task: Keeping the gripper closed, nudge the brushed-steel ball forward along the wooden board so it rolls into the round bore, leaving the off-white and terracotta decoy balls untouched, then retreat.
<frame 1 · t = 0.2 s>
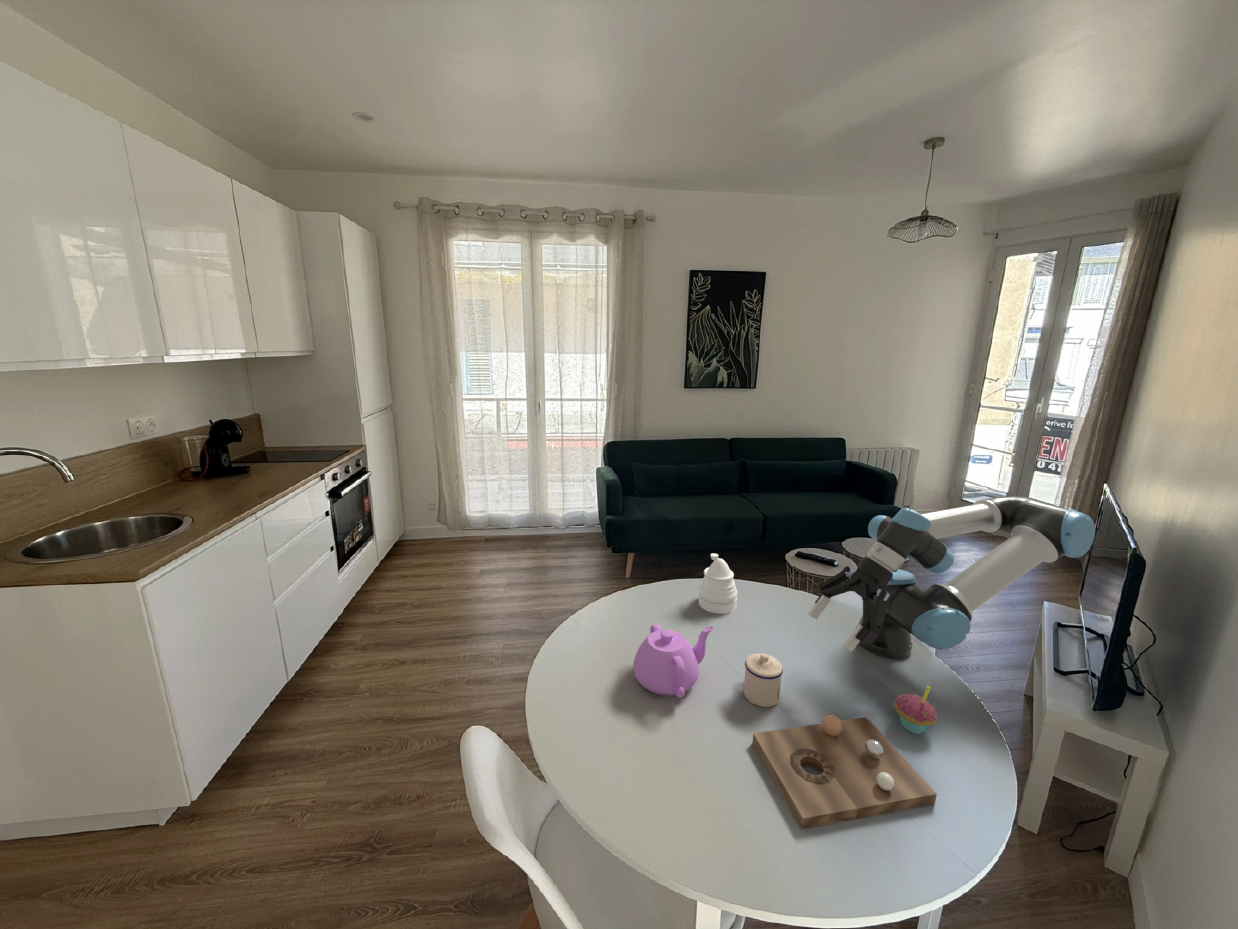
hand: (828, 632, 120), 16 cm above the table, tool tilted 35°, fingers open, 13 cm apart
wooden board: (837, 771, 99), on the table
teacup with lid: (758, 692, 122), on the table
teapot: (673, 678, 127), on the table
steel ball: (874, 749, 99), point 4 cm above the table, touching wooden board
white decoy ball: (885, 781, 92), point 4 cm above the table, touching wooden board
cupcake: (912, 727, 111), on the table
honey pot: (717, 604, 164), on the table
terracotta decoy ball: (832, 725, 105), point 5 cm above the table, touching wooden board
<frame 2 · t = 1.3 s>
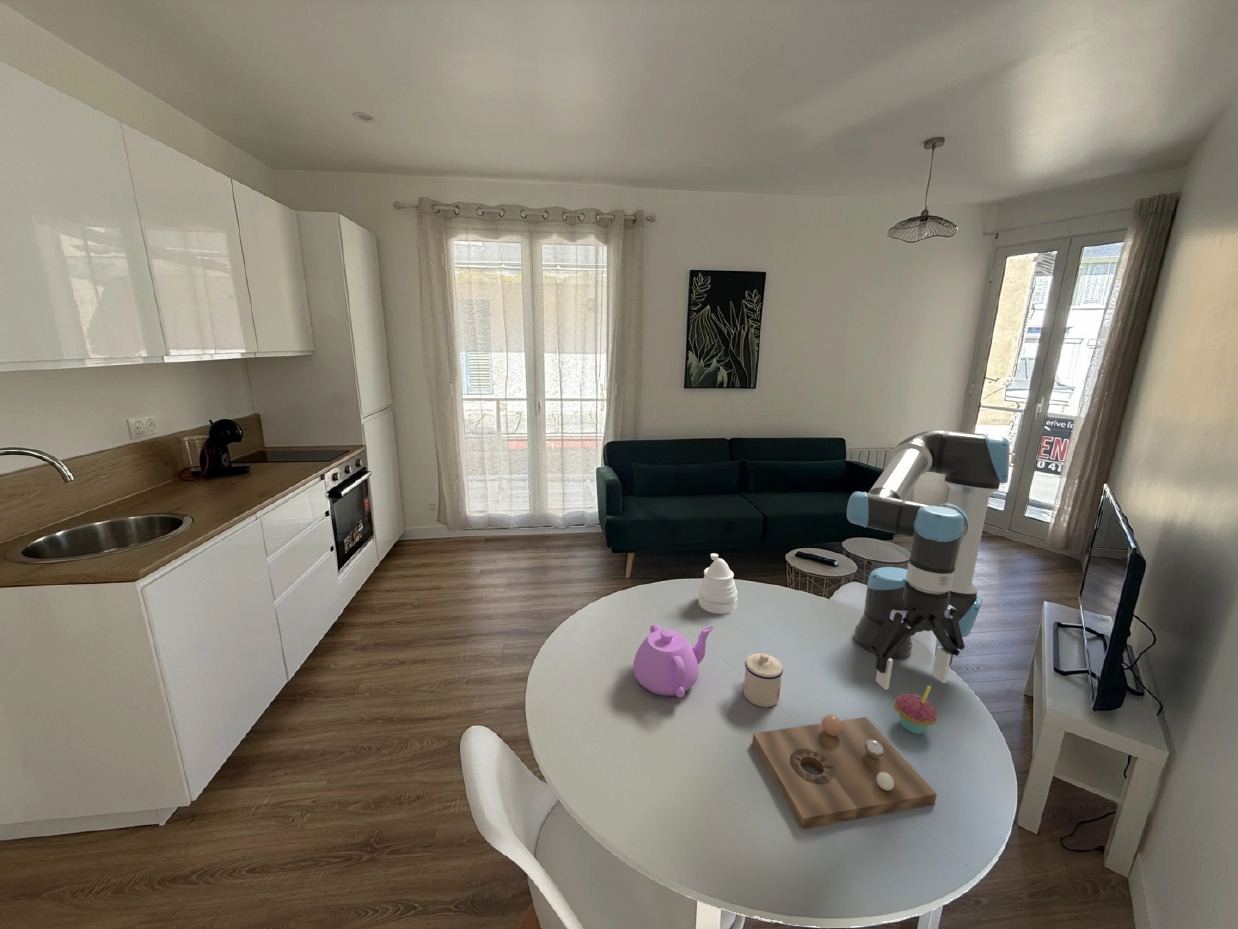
hand: (910, 681, 98), 19 cm above the table, tool pointing down, fingers open, 12 cm apart
nothing on the table moved.
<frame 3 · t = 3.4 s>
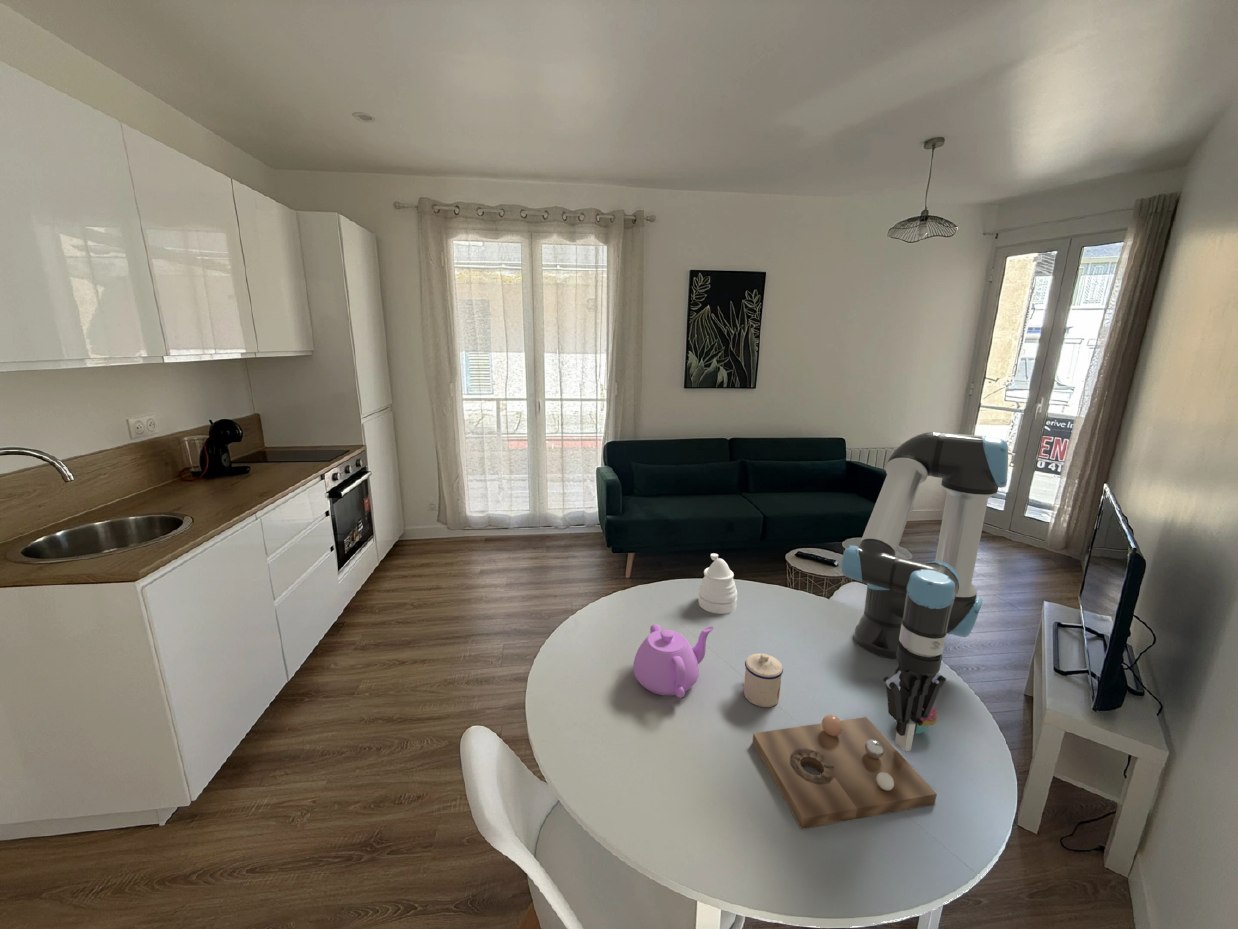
hand: (902, 745, 101), 4 cm above the table, tool pointing down, fingers closed
nothing on the table moved.
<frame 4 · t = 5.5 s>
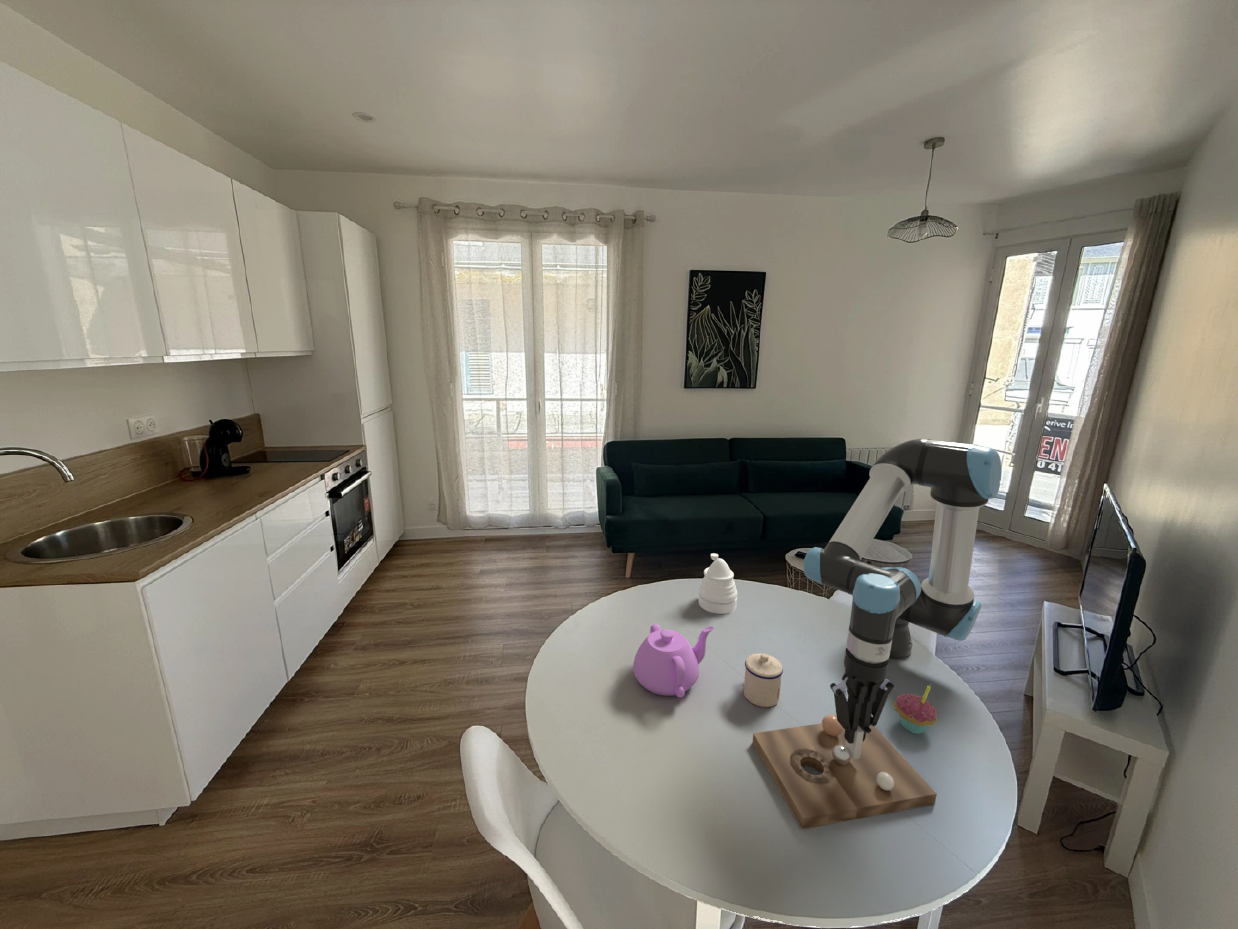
hand: (852, 753, 98), 4 cm above the table, tool pointing down, fingers closed
steel ball: (841, 754, 98), point 4 cm above the table, tilted 111°, touching wooden board
everything else where it was.
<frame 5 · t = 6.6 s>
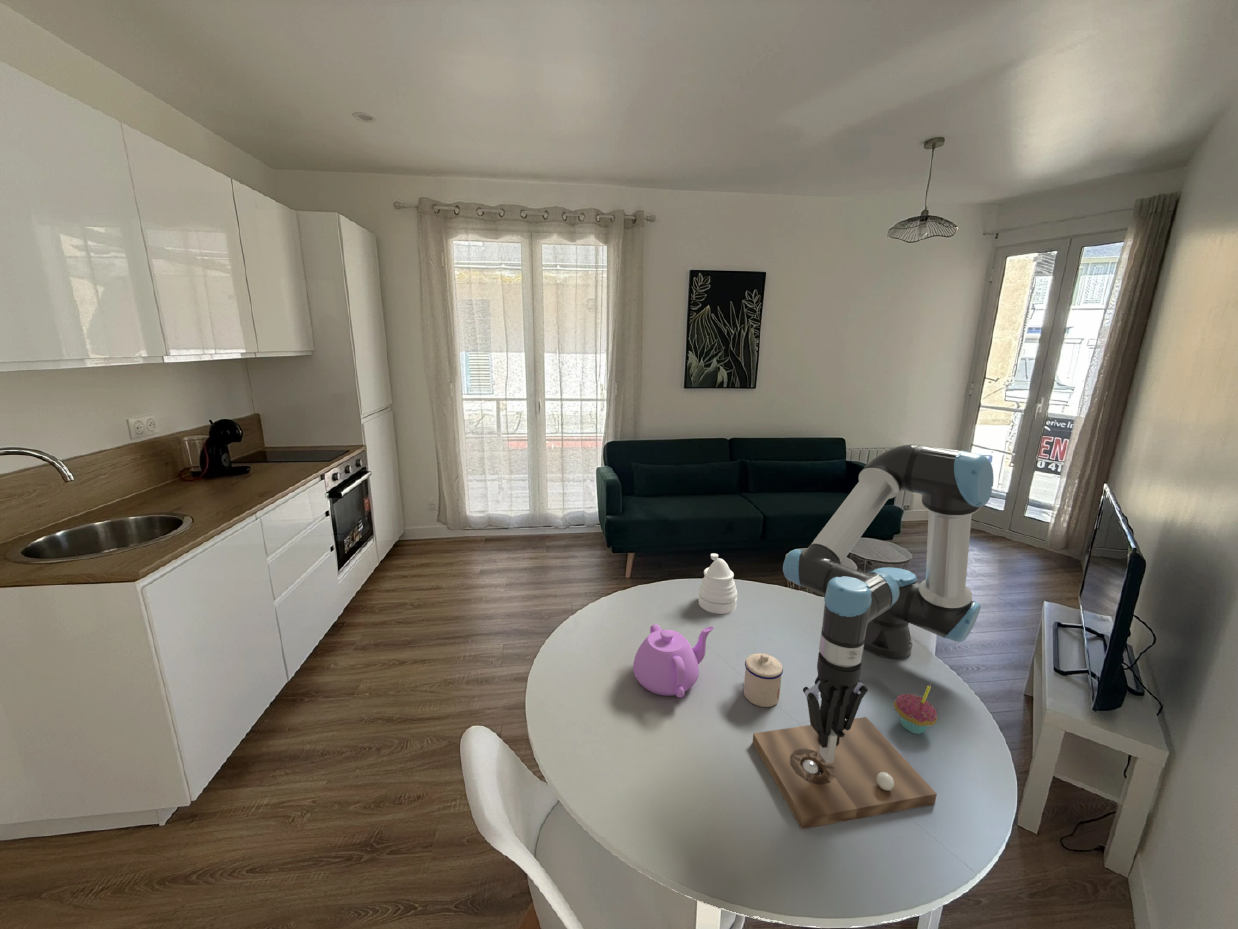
hand: (826, 757, 97), 4 cm above the table, tool pointing down, fingers closed
steel ball: (810, 769, 97), point 2 cm above the table, tilted 158°
everything else where it was.
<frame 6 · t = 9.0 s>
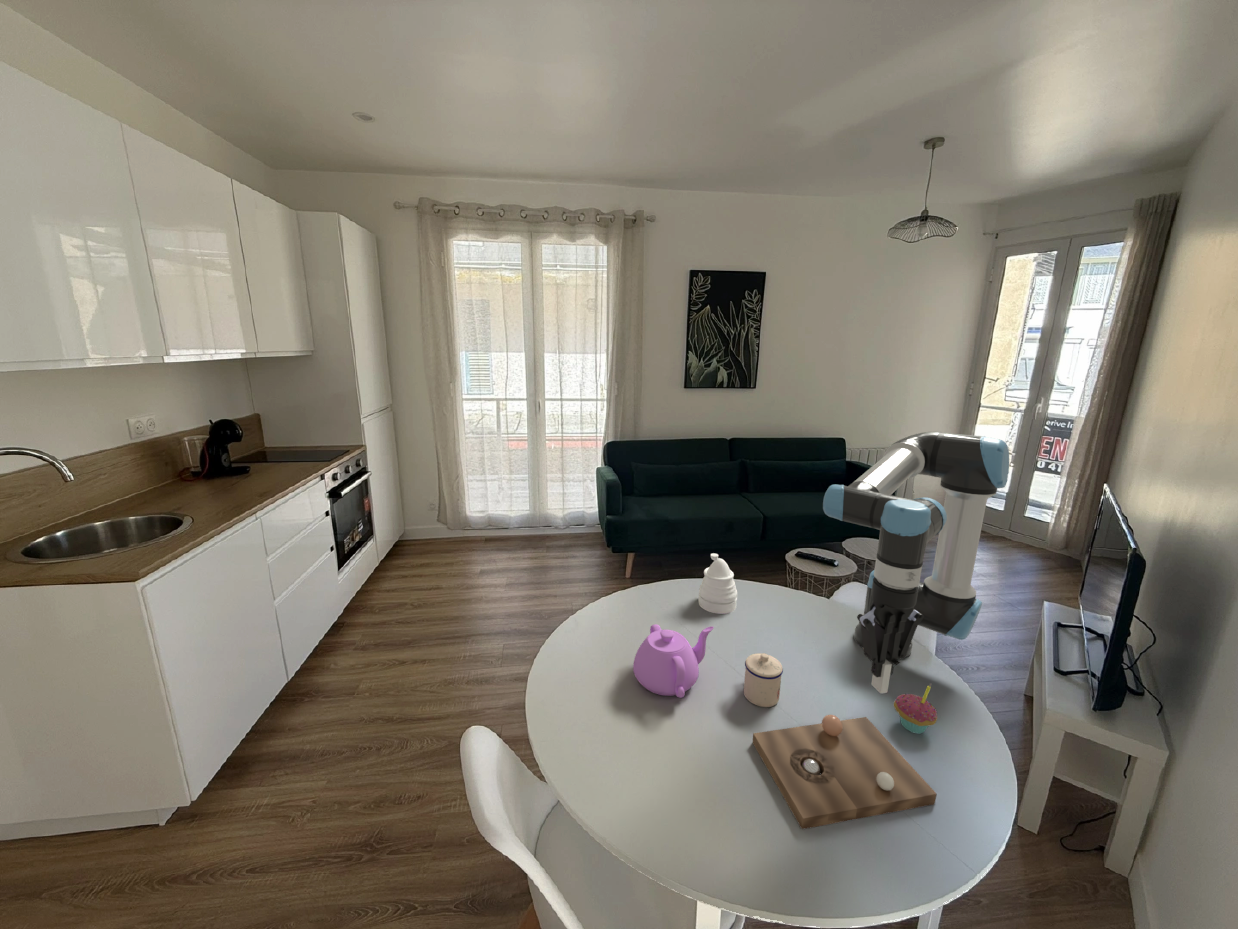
hand: (879, 688, 96), 19 cm above the table, tool pointing down, fingers closed
steel ball: (810, 768, 97), point 2 cm above the table, tilted 152°
everything else where it was.
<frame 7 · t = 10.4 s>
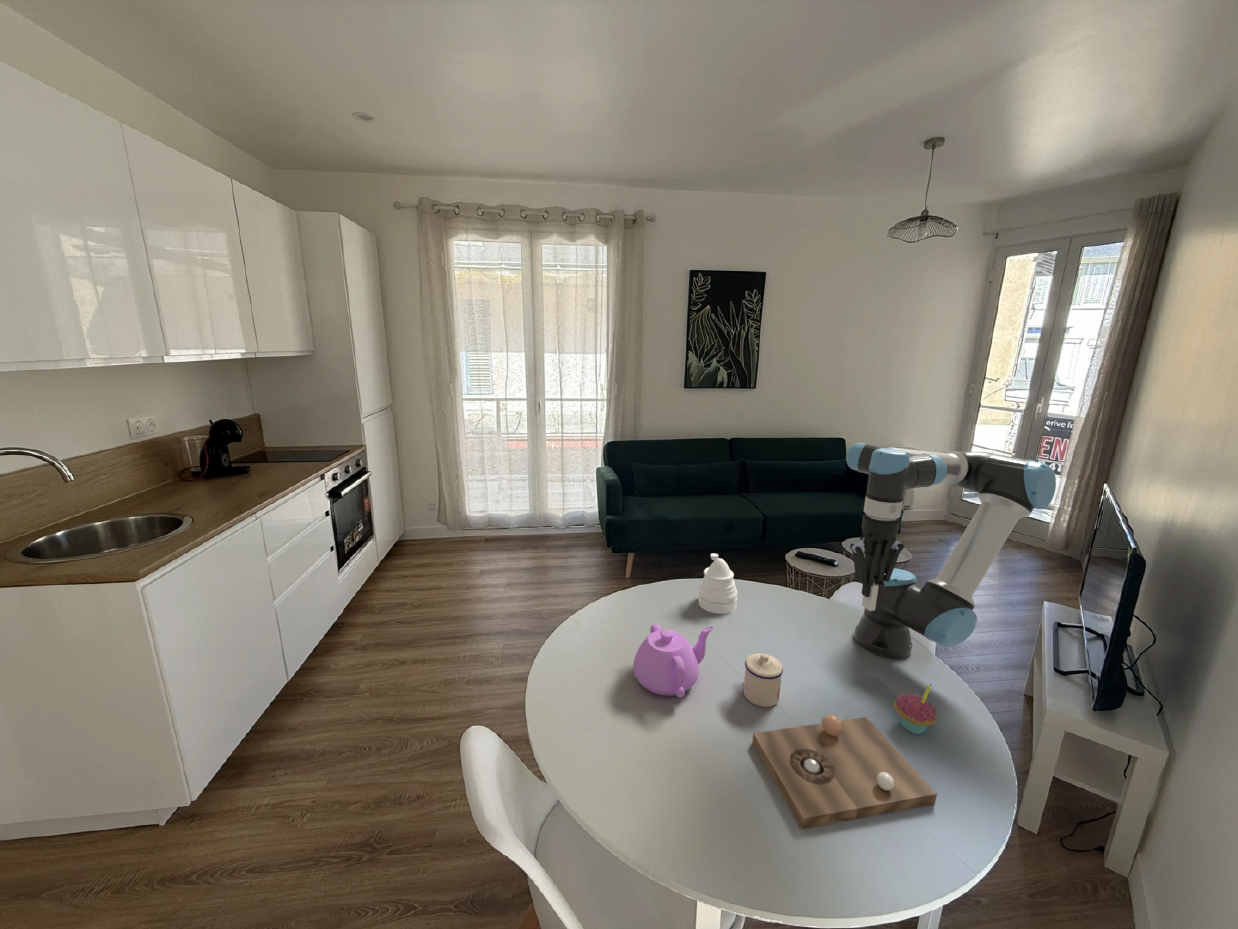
hand: (868, 607, 116), 24 cm above the table, tool pointing down, fingers closed
nothing on the table moved.
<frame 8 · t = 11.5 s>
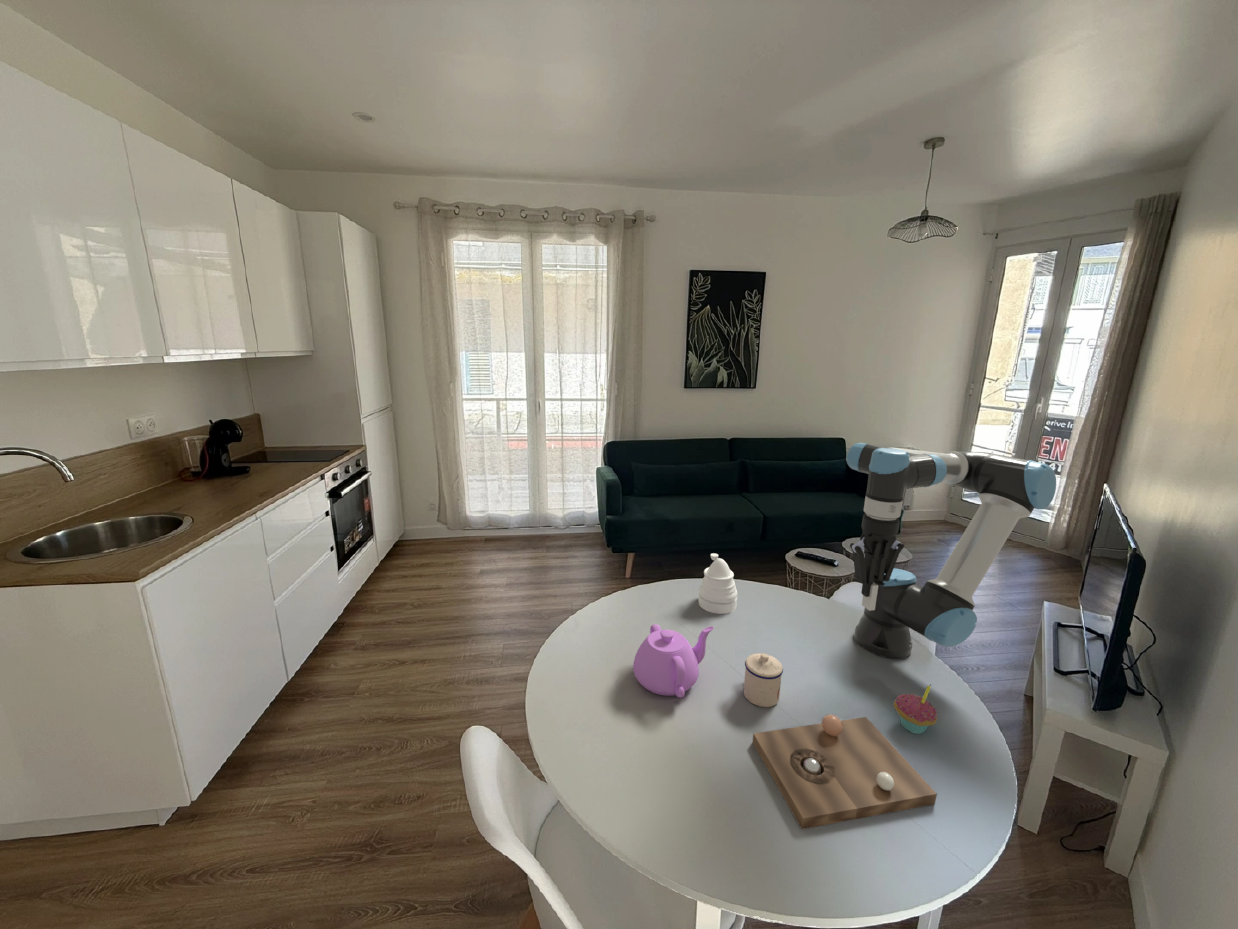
hand: (868, 607, 116), 24 cm above the table, tool pointing down, fingers closed
nothing on the table moved.
at the end: steel ball 0.3 cm from the target spot in the wooden board, point 1.7 cm above the wooden board's base; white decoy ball moved 0.1 cm from its start; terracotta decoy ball moved 0.1 cm from its start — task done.
